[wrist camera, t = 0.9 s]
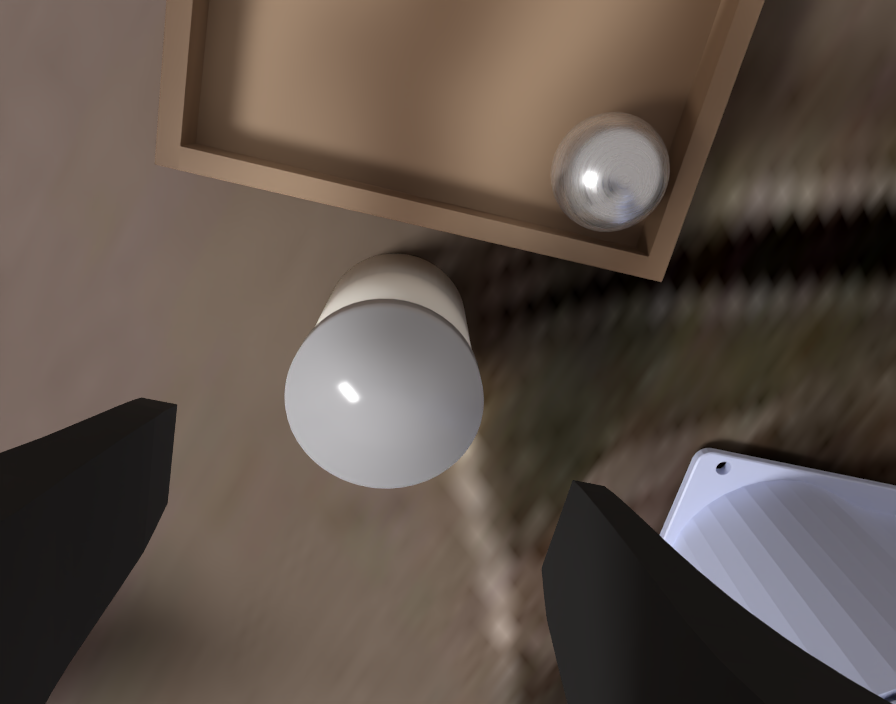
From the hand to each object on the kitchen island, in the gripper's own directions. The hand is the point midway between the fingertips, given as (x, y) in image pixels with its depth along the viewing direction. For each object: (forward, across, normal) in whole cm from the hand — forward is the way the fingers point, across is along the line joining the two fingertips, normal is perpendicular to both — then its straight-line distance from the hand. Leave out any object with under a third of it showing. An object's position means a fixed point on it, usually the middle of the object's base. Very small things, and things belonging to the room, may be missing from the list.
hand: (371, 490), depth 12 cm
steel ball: (+7, -5, -6) cm, 11 cm away
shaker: (+10, 0, 0) cm, 10 cm away
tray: (+10, 0, -9) cm, 13 cm away
